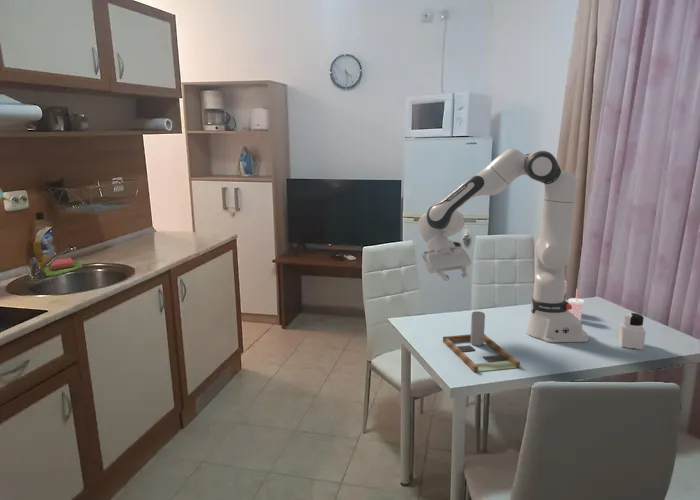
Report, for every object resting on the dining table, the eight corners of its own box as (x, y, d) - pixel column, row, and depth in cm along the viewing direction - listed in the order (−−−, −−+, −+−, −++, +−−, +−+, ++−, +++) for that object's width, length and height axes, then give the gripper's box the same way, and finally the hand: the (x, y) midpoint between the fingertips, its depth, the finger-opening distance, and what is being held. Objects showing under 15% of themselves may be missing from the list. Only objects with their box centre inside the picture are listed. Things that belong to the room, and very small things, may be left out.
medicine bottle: (639, 342, 192) (643, 312, 189) (643, 350, 185) (647, 318, 183) (618, 340, 194) (621, 310, 192) (621, 347, 188) (625, 316, 185)
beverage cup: (570, 317, 221) (572, 285, 218) (584, 320, 216) (587, 288, 213) (564, 320, 216) (566, 288, 213) (578, 324, 212) (581, 291, 209)
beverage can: (468, 341, 194) (470, 311, 192) (481, 341, 195) (482, 311, 192) (472, 346, 189) (474, 315, 187) (485, 346, 190) (486, 315, 187)
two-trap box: (442, 341, 194) (443, 336, 194) (482, 338, 197) (483, 333, 197) (474, 372, 168) (474, 366, 168) (519, 367, 171) (520, 362, 171)
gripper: (424, 247, 197) (439, 277, 190) (464, 242, 207) (480, 271, 200) (416, 256, 201) (431, 286, 195) (456, 251, 211) (471, 279, 205)
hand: (456, 278), depth 198 cm, fingers open, 8 cm apart
